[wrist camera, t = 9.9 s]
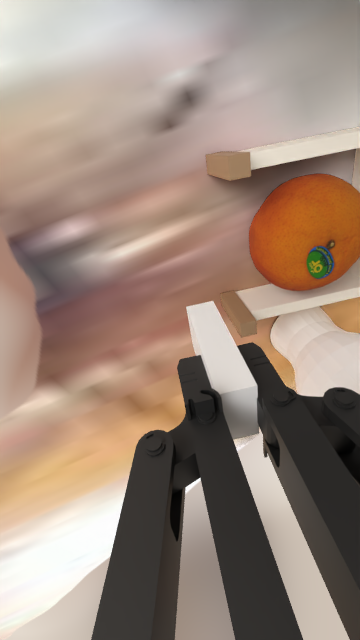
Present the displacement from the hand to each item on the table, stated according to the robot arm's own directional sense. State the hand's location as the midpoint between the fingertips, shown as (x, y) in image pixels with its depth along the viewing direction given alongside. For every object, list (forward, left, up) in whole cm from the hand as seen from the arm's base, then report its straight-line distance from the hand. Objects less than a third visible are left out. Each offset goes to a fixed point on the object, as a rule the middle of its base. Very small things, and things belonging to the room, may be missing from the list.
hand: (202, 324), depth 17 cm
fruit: (+1, +13, -16) cm, 21 cm away
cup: (+15, +15, -16) cm, 26 cm away
